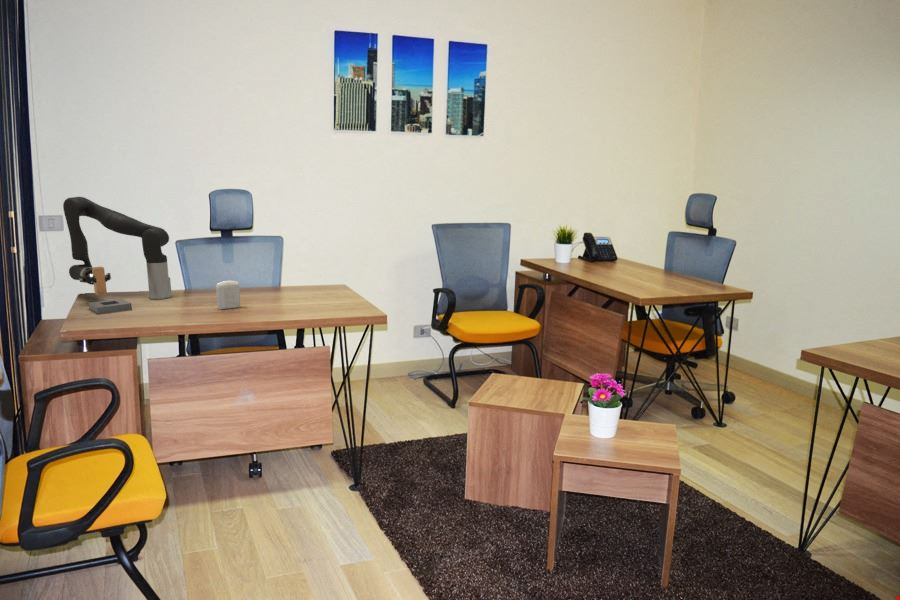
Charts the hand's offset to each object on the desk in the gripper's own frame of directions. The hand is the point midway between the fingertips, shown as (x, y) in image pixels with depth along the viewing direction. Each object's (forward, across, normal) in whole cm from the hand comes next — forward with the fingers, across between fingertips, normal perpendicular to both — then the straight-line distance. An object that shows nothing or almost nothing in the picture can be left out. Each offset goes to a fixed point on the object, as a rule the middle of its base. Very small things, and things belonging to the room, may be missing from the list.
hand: (101, 279), depth 325 cm
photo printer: (+43, +41, +13) cm, 61 cm away
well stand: (+11, 0, +12) cm, 16 cm away
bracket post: (-3, 0, +7) cm, 7 cm away
